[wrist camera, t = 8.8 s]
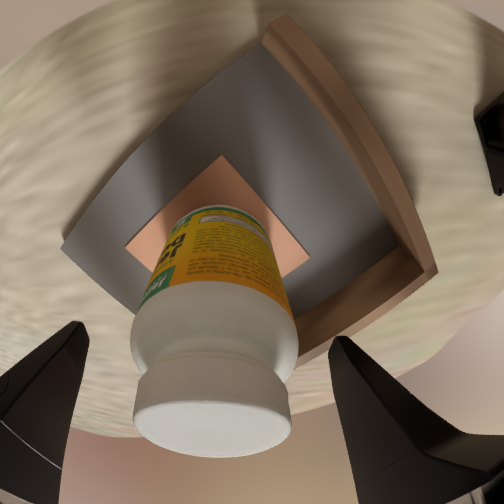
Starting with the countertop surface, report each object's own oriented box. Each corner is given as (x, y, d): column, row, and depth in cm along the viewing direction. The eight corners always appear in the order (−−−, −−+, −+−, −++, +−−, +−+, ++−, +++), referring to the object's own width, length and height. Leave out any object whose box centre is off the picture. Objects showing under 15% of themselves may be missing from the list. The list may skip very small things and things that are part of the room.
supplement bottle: (249, 303, 16) (266, 468, 7) (159, 278, 14) (110, 444, 6) (289, 221, 13) (364, 396, 5) (182, 186, 12) (98, 350, 4)
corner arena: (273, 37, 10) (287, 13, 6) (408, 242, 15) (438, 272, 12) (64, 243, 14) (35, 275, 11) (219, 366, 20) (218, 404, 16)
